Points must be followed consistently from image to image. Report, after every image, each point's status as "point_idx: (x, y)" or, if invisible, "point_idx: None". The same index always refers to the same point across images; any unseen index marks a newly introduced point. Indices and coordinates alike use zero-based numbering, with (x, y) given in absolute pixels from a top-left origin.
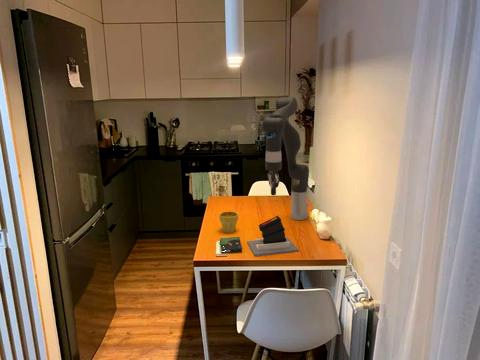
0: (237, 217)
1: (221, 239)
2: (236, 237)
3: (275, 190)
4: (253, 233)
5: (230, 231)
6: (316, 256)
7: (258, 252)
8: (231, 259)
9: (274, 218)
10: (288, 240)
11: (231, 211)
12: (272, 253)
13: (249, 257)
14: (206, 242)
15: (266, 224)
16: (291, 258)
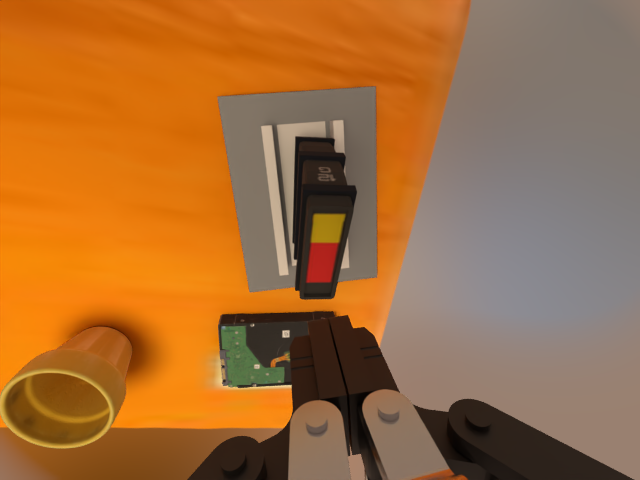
0: (79, 363)
1: (239, 383)
2: (223, 334)
3: (388, 369)
4: (140, 252)
5: (130, 346)
6: (437, 13)
7: (363, 262)
8: (378, 345)
9: (315, 226)
10: (261, 105)
11: (2, 400)
12: (375, 210)
13: (377, 291)
14: (230, 415)
15: (339, 269)
16: (424, 140)
